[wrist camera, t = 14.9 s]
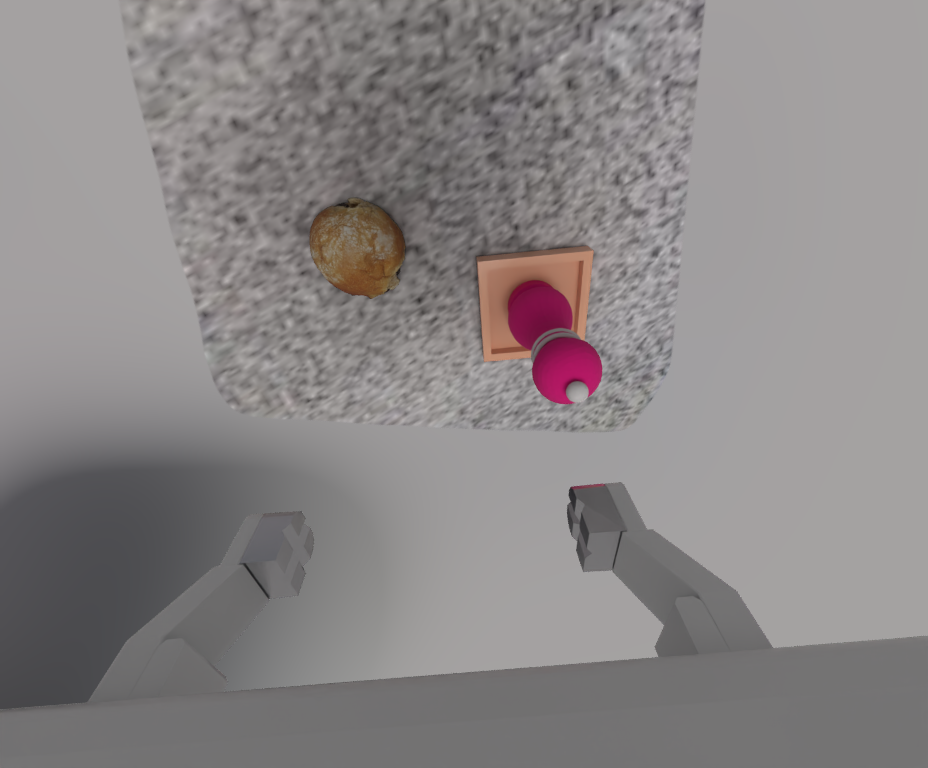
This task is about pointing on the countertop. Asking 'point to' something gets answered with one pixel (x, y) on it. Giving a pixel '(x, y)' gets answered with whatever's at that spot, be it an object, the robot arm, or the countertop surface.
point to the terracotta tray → (509, 271)
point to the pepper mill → (553, 343)
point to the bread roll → (357, 248)
